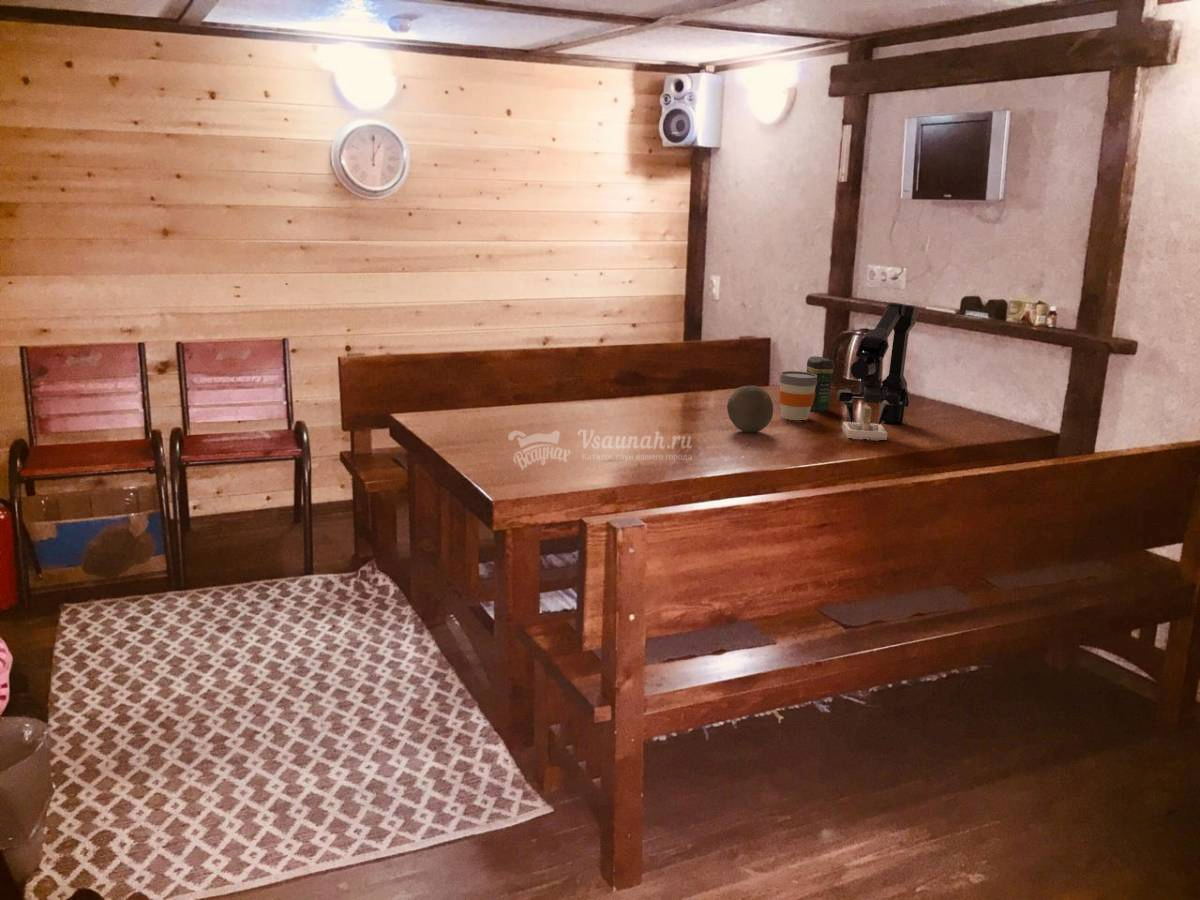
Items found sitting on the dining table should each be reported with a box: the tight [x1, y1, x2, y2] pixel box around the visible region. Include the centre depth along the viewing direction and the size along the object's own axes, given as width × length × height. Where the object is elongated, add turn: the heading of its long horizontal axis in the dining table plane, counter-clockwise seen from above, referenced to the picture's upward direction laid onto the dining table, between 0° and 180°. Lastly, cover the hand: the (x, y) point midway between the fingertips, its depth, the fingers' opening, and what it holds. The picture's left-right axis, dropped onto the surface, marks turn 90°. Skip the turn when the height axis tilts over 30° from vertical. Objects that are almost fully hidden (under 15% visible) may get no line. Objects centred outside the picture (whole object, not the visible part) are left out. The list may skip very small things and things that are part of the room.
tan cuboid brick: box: [860, 405, 873, 431], centre depth 314 cm, size 2×4×8 cm, turn 175°
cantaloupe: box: [726, 385, 774, 434], centre depth 310 cm, size 14×14×15 cm
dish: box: [841, 421, 888, 441], centre depth 315 cm, size 12×12×3 cm
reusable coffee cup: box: [778, 370, 817, 421], centre depth 334 cm, size 13×13×15 cm
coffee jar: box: [806, 356, 834, 412], centre depth 349 cm, size 10×8×19 cm
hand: (865, 423), depth 315 cm, fingers open, 8 cm apart
